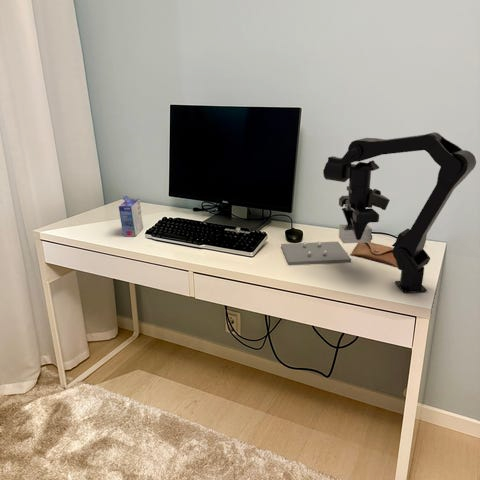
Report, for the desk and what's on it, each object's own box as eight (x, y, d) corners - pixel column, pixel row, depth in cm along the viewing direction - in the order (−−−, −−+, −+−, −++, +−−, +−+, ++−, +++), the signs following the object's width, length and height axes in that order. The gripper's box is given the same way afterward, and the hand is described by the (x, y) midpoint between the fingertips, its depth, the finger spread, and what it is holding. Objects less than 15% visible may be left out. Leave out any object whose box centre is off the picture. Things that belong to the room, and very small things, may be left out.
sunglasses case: (346, 254, 144) (352, 235, 144) (354, 259, 149) (360, 240, 150) (400, 268, 133) (407, 247, 133) (407, 272, 138) (413, 252, 139)
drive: (372, 242, 126) (373, 229, 125) (343, 243, 126) (344, 230, 125) (366, 236, 131) (367, 223, 130) (338, 237, 131) (339, 224, 129)
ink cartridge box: (130, 228, 176) (126, 193, 171) (143, 228, 175) (140, 193, 170) (121, 236, 166) (117, 199, 161) (135, 236, 166) (131, 199, 161)
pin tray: (351, 262, 138) (351, 254, 137) (288, 264, 137) (288, 257, 137) (337, 244, 153) (338, 237, 152) (281, 246, 152) (281, 239, 152)
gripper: (400, 191, 114) (394, 246, 120) (376, 176, 132) (372, 225, 137) (358, 192, 114) (354, 248, 119) (339, 177, 131) (336, 226, 137)
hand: (355, 236), depth 128 cm, fingers closed on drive, 5 cm apart
